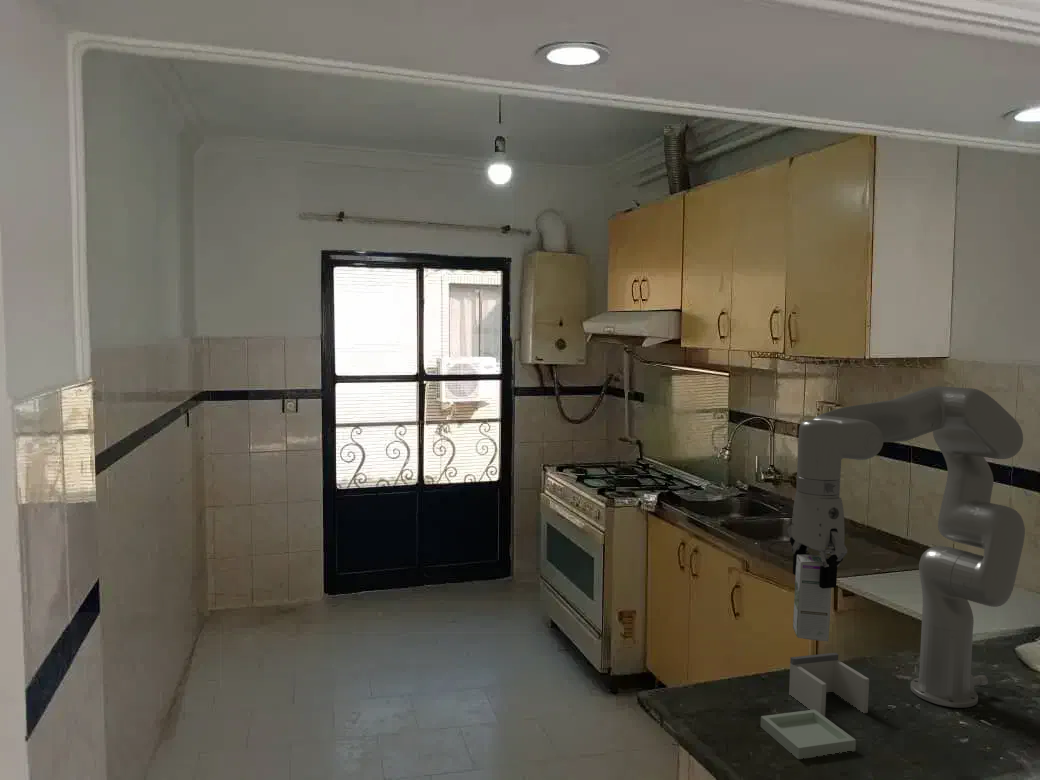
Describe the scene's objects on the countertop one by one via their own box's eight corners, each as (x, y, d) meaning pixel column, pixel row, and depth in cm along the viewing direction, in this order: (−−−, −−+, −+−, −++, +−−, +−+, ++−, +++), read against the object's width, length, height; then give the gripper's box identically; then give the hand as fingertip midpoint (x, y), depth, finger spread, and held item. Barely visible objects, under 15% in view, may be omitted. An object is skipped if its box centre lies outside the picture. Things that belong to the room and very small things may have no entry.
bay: (833, 689, 166) (835, 652, 165) (867, 712, 156) (869, 673, 155) (789, 695, 163) (790, 657, 163) (820, 718, 153) (822, 678, 152)
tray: (814, 719, 153) (814, 709, 152) (855, 751, 141) (855, 739, 141) (760, 726, 149) (760, 716, 149) (798, 759, 138) (798, 748, 138)
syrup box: (829, 642, 141) (834, 563, 140) (795, 638, 142) (800, 560, 142) (823, 631, 147) (828, 555, 146) (791, 627, 148) (795, 552, 147)
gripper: (867, 495, 136) (862, 594, 137) (806, 478, 152) (803, 566, 153) (830, 496, 134) (826, 597, 135) (773, 479, 150) (769, 568, 152)
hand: (813, 580), depth 144 cm, fingers closed on syrup box, 7 cm apart
